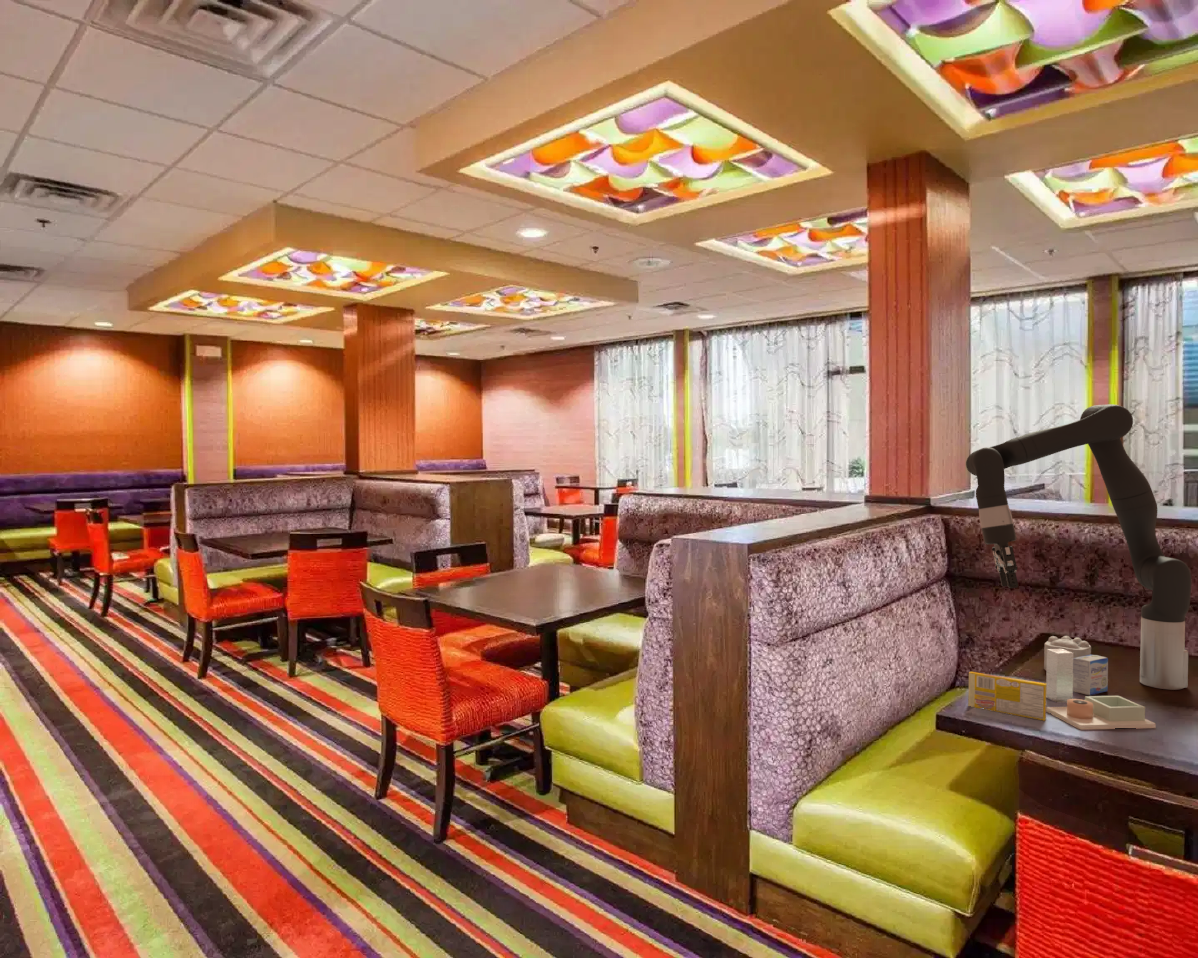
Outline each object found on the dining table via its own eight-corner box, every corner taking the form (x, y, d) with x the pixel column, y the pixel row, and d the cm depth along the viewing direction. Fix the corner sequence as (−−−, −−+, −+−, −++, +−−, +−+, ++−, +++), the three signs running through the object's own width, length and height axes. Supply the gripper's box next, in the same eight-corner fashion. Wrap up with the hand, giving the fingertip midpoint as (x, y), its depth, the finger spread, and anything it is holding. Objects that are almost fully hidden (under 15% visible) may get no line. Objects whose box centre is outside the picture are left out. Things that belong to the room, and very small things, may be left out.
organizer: (1116, 709, 182) (1116, 692, 182) (1155, 727, 170) (1155, 709, 170) (1045, 711, 181) (1046, 693, 181) (1080, 729, 169) (1080, 711, 169)
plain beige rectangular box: (1061, 697, 191) (1062, 648, 191) (1072, 702, 187) (1073, 653, 187) (1046, 697, 191) (1046, 649, 191) (1056, 702, 187) (1057, 653, 187)
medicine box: (1089, 696, 192) (1090, 661, 192) (1071, 691, 196) (1072, 657, 196) (1108, 691, 196) (1108, 657, 196) (1090, 686, 200) (1090, 653, 199)
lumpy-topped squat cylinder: (1040, 670, 216) (1040, 639, 215) (1054, 661, 225) (1054, 631, 224) (1083, 677, 208) (1083, 645, 208) (1095, 668, 217) (1096, 637, 217)
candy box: (1046, 719, 176) (1047, 683, 176) (1044, 721, 174) (1045, 685, 174) (970, 704, 186) (970, 670, 186) (967, 706, 185) (968, 672, 185)
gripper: (1018, 521, 193) (1032, 586, 191) (1007, 522, 207) (1020, 583, 205) (986, 526, 195) (999, 590, 193) (976, 527, 209) (989, 587, 207)
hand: (1010, 587), depth 199 cm, fingers open, 8 cm apart
